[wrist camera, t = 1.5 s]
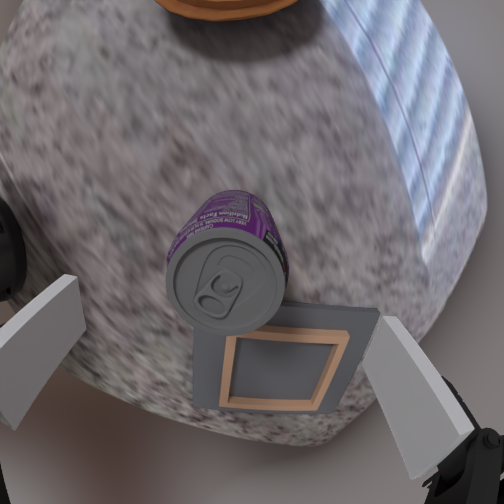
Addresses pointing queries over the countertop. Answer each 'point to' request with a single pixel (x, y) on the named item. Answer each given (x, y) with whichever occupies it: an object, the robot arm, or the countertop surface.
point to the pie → (224, 8)
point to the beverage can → (228, 266)
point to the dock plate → (283, 361)
